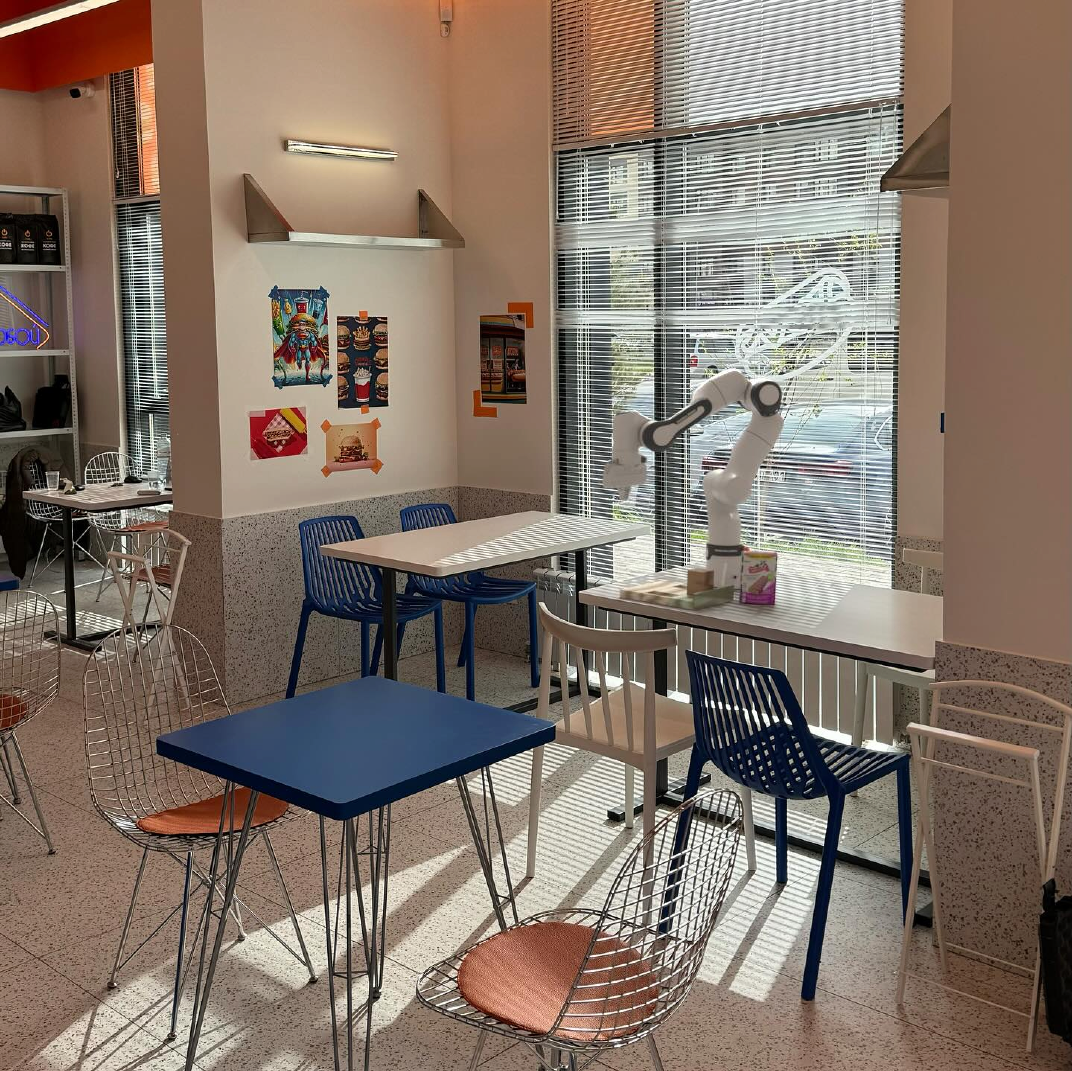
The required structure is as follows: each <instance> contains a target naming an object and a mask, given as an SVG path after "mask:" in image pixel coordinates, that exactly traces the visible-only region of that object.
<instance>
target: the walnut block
mask: <svg viewBox="0 0 1072 1071" xmlns="http://www.w3.org/2000/svg"><path fill="white" fill-rule="evenodd" d="M686 579H687V580H686V585H687V595H690V596H693V594H694V593H698V592H702V591H707V590H711V589H715V587H714V570H710V569H705V568H702V567H696V568H695V567H694V568H691V569H687V578H686Z"/></svg>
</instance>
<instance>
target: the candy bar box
mask: <svg viewBox="0 0 1072 1071" xmlns="http://www.w3.org/2000/svg"><path fill="white" fill-rule="evenodd" d="M778 557H779V556H778V553H777V552H776V551H758V550H757V551H756V550H755V551H754V550H749V551H742V555H741V575H740V589H739V594H738V595H739V596H738V598H739V599H738V601H739V604H747V605H767V606H768V605H770V606H771V605H772V606H775V604H776V591H777V590H776V589H777V588H776V587H777V574H778V573H777V571H778V570H777V569H778Z"/></svg>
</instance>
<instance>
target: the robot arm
mask: <svg viewBox="0 0 1072 1071" xmlns="http://www.w3.org/2000/svg"><path fill="white" fill-rule="evenodd" d="M782 398H783V391H782V388H781V386H780V385H779V384H778V383H777V382H776V381H775V380H772V379H770V378H756V379H747V378H746V376H745V375H744V373H743V372H742V371H740V370H739V369H736V368H730V369H729V368H728V369H726V370H725V371H721V372H720V373H718V374H715V375H713V376H712V377H710V378H709V379H707V380H705V381H704V382H702V383H701V384H700V385H698V386H697V387H696V388H695V389H693V391H692V393H691V395H690V401H689V403H688V405H687V406H685V407H684V408H683V409H681V410H680V411H678V412H677V413H675V414H674V415H672V416H671V417H669V418H666V419H664V420H655V419H652V418H650V417H647V416H645V415H644V414H642V413H640V412H639V411H638V410H636V409H626V410H620V411H618V412H616V414H615V415H614V417H613V423H612V435H611V436H612V440H613V444H612V448H611V459H609V460H608V461H607V462H606V463H605V465H604V468H603V474H602V486H603V488H605V489H617V493H618V495H619V497H618V498H619V500H620V501H628V500H629V499H630V498H629V497H630V493H631V490H632V487H635V486H644V485H645V484H646V482H647V473H648V472H647V471H648V469H647V463H648V457H647V456H646V455H645V456H644V455H643V454H642V453H639V451H640V448H642V447H643V448H646V449H648V450H650V451H651V452H654V453H663V452H666V451H668V450H669V449H670V448H671V447H672V446H673V444H674V443H675V442H676V440H677V438H678V437H679V436H681V435H682V434H683V433H684V432H686V431H688V429H690V428H692V427H694V426H695V425H696V424H698V423H700V421H702V420H704V419H706V418H708V417H710V416H713V415H715V414H717V413H719V412H720V411H722V410H724V409H725V408H727V407H728V406H730V405H732V404H733V403H736V402H737V403H738V405H740V407H741V408H743V409H744V410H746V411H748V412H751V419H750V422H749V424H747V426H746V427H745V429H744V431H743V432H742V434H741V435H740V436H739V438H738V439H737V441H736V443H734V445H733V447H732V449H731V451H730V457H729V460H728V462H727V465H726V466H725V468H724V469H722V468H718V469H714V470H710V471H709V472H707V473H706V474H705V476H704V477H703V479H702V485H701V487H702V490H703V492H704V498H705V504H706V512H707V521H708V522H707V523H708V524H707V542H706V545H705V559H706V560H705V568H704V569H710V570H714V588H719V587H723V586H728V585H734V590H740V575H741V555H742V551H751V549H750V548H749V547H748V546H746V545H744V544H742V543H741V537H742V536H741V535H742V534H741V532H742V521H741V517H740V513H739V510H738V505H741V504H743V503H746V502H747V501H748V499H749V498H750V497H751V494H752V486H753V482H754V481H755V478H756V475H758V474H757V473H758V471H759V469H760V468H761V466H762V464H763V462H764V461H765V459H767V456H768V455H769V453H770V452H771V450H772V449H773V447H774V445H775V444H776V443H777V441H778V439H779V438H780V435H781V433H782V431H783V429H784V426H785V422H784V419H783V417H782V415H781V414H780V413H779V411H780V410H781V404H782V403H781V402H782Z"/></svg>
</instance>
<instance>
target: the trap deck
mask: <svg viewBox="0 0 1072 1071" xmlns="http://www.w3.org/2000/svg"><path fill="white" fill-rule="evenodd" d="M619 597H620V598H623V599H628V598H629V599H631V600H635V601H640V602H641V601H642V602H647V603H651V604H657V603H658V604H657V605H665V606H671V607H675V608H681V609H687V610H692V611H697V610H700V609H705V608H709V607H712V606H713V607H714V606H717V605H720V604H721V605H722V604H725V603H729V602H732V601H735V589H734V585H728V586H723V587H714V589H711V590H707V591H702V592H698V593H694V594H693V596H690V595H687V584H681V583H675V582H670V581H663V580H657V581H653V582H647V583H643V584H640V585H639V584H638V585H634V586H630V587H623V588H620V589H619ZM629 599H628V600H629Z"/></svg>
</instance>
